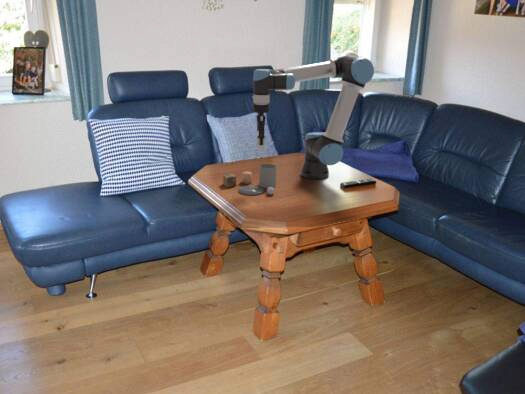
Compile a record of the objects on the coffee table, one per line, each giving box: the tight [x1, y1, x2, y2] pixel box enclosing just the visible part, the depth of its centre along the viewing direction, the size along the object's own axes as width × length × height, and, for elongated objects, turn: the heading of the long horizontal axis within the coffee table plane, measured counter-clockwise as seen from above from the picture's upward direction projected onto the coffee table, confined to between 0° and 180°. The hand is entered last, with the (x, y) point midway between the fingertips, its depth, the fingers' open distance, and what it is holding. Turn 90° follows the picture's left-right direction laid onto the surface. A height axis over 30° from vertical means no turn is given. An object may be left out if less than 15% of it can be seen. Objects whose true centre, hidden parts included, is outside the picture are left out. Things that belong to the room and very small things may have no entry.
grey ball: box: [266, 187, 275, 196], centre depth 245 cm, size 4×4×4 cm
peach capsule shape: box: [241, 171, 253, 185], centre depth 261 cm, size 5×5×5 cm
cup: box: [258, 163, 277, 189], centre depth 257 cm, size 8×8×10 cm
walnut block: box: [222, 173, 237, 188], centre depth 257 cm, size 5×5×5 cm
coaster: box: [238, 185, 264, 196], centre depth 249 cm, size 12×12×1 cm
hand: (260, 147), depth 245 cm, fingers open, 13 cm apart
